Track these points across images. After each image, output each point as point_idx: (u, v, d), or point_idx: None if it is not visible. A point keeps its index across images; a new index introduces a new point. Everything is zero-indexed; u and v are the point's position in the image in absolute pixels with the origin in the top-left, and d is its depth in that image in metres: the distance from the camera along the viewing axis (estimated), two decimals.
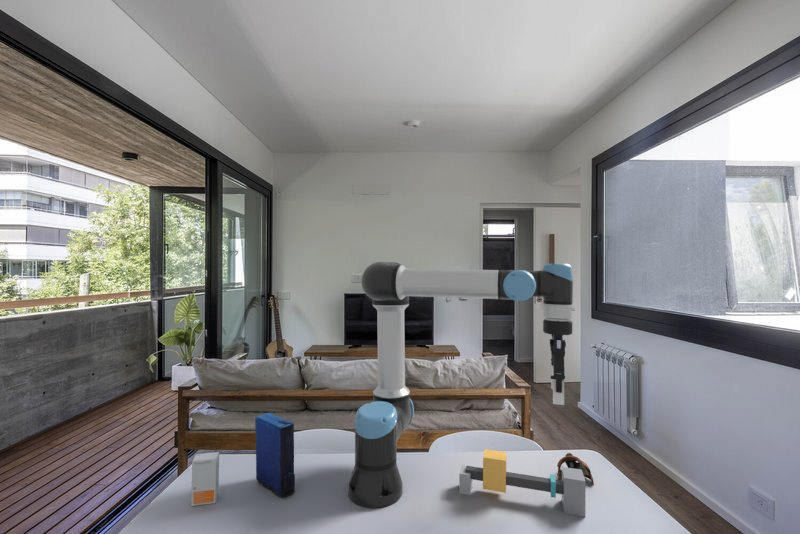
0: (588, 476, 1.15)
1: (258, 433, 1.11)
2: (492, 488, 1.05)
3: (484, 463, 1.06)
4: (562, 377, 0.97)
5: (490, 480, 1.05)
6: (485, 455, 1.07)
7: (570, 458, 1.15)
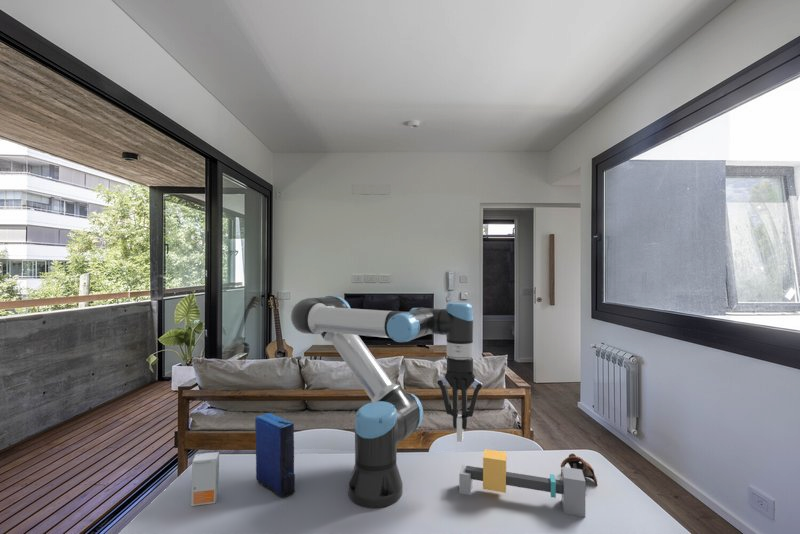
0: (591, 477, 1.14)
1: (258, 433, 1.11)
2: (492, 488, 1.05)
3: (484, 463, 1.06)
4: None
5: (490, 480, 1.05)
6: (485, 455, 1.07)
7: (573, 459, 1.15)
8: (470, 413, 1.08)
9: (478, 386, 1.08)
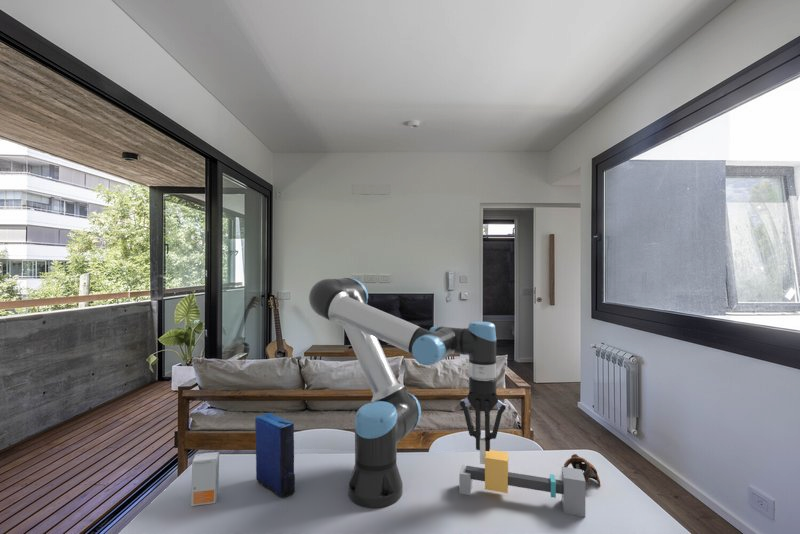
0: (594, 477, 1.14)
1: (258, 433, 1.11)
2: (494, 488, 1.05)
3: (486, 463, 1.05)
4: None
5: (492, 480, 1.05)
6: (487, 455, 1.07)
7: (576, 459, 1.15)
8: (494, 435, 1.06)
9: (502, 408, 1.06)
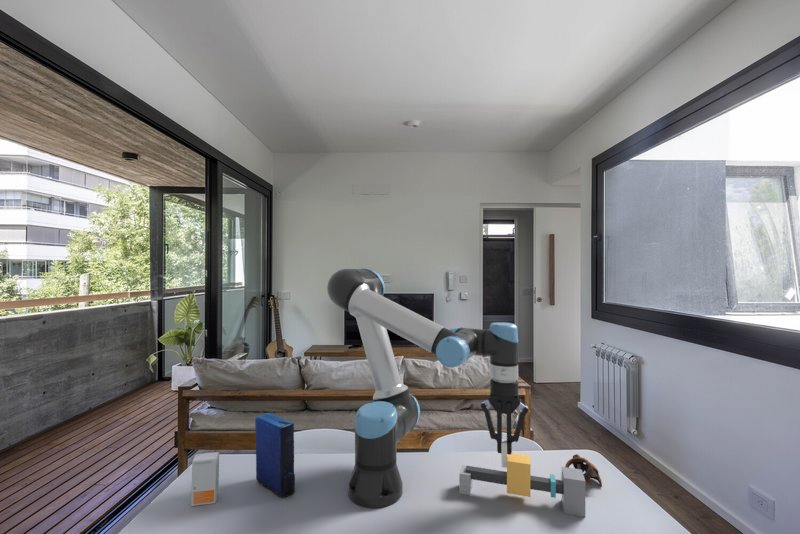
0: (596, 478, 1.14)
1: (258, 433, 1.11)
2: (516, 492, 1.03)
3: (508, 467, 1.04)
4: None
5: (514, 484, 1.03)
6: (509, 458, 1.05)
7: (578, 460, 1.14)
8: (516, 438, 1.05)
9: (524, 410, 1.04)
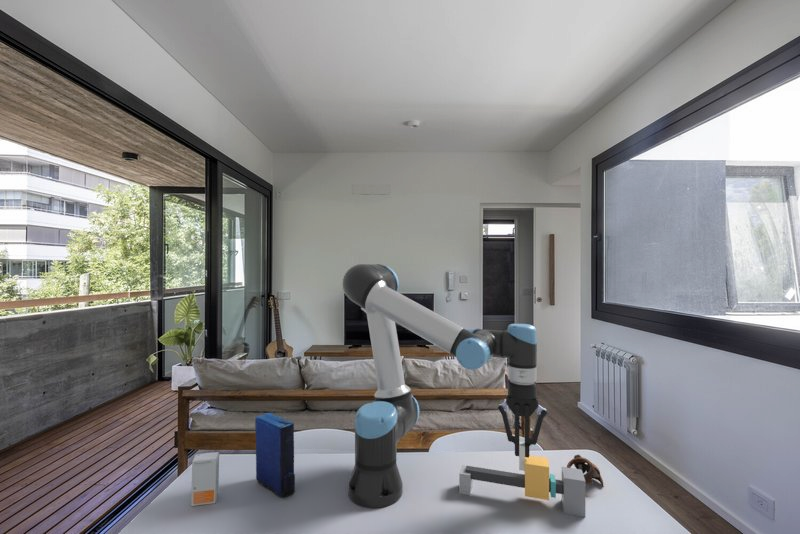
0: (597, 478, 1.14)
1: (258, 433, 1.11)
2: (535, 495, 1.02)
3: (526, 469, 1.02)
4: (508, 438, 1.06)
5: (532, 487, 1.02)
6: (526, 461, 1.04)
7: (579, 460, 1.14)
8: (534, 441, 1.03)
9: (543, 413, 1.03)
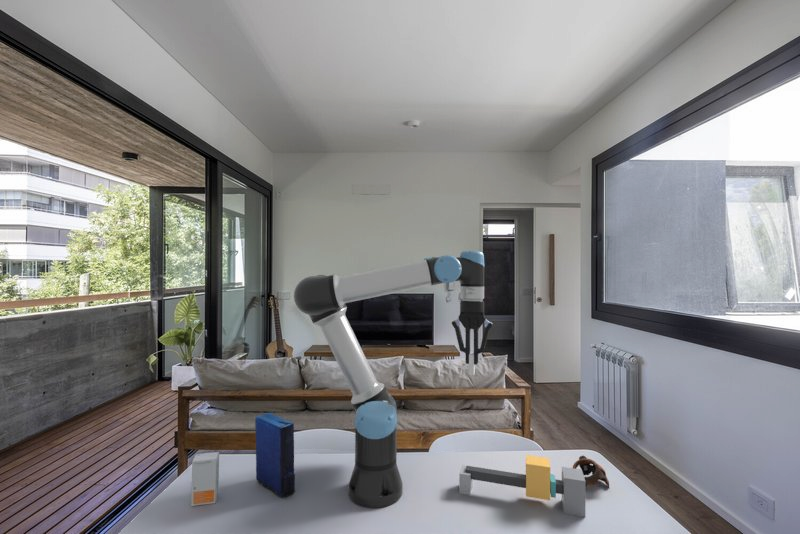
0: (603, 479, 1.13)
1: (258, 433, 1.11)
2: (536, 495, 1.02)
3: (527, 470, 1.02)
4: None
5: (533, 487, 1.02)
6: (528, 461, 1.04)
7: (585, 461, 1.14)
8: (481, 349, 1.20)
9: (489, 325, 1.20)
